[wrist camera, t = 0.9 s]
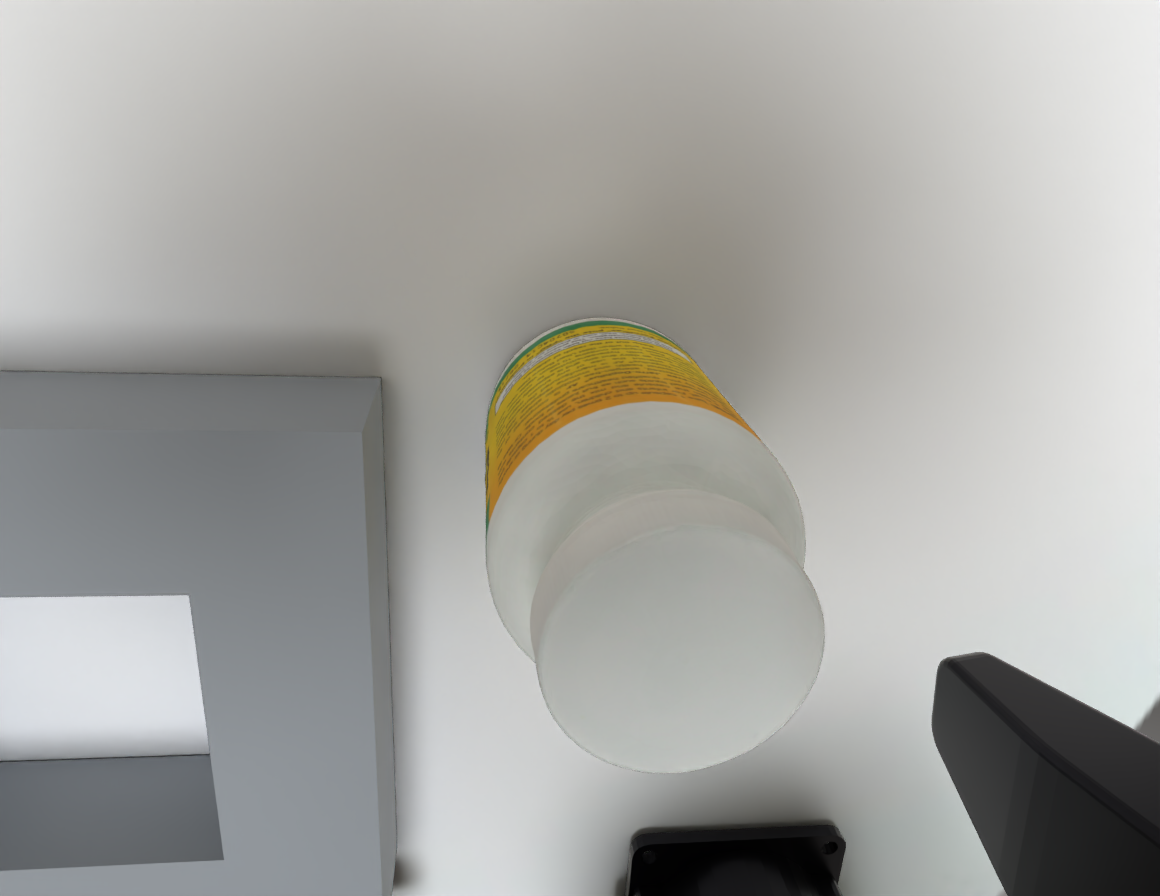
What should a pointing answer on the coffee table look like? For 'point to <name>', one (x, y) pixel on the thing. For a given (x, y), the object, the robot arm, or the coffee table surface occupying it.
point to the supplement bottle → (645, 551)
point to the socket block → (212, 628)
